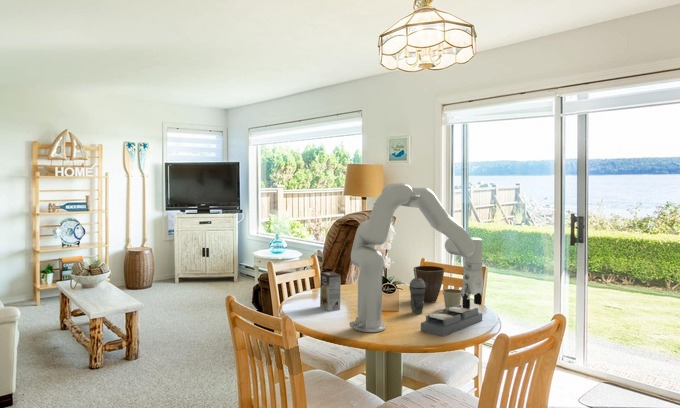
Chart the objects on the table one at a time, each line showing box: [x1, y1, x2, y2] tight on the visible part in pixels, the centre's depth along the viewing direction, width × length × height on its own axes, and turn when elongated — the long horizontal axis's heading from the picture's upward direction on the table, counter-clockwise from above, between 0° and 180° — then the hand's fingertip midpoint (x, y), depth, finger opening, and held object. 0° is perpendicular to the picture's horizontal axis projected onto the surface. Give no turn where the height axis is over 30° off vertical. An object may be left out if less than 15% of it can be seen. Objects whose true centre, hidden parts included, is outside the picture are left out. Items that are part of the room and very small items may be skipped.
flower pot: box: [441, 288, 462, 309], centre depth 208 cm, size 9×9×9 cm
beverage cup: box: [408, 267, 426, 315], centre depth 203 cm, size 7×7×20 cm
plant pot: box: [412, 265, 445, 303], centre depth 225 cm, size 15×15×16 cm
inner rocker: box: [429, 313, 453, 320], centre depth 179 cm, size 10×6×1 cm, turn 135°
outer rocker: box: [449, 306, 473, 313], centre depth 189 cm, size 10×6×1 cm, turn 135°
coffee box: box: [319, 271, 342, 312], centre depth 209 cm, size 9×6×16 cm
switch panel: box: [420, 304, 483, 337], centre depth 184 cm, size 30×10×5 cm, turn 135°
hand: (471, 306), depth 195 cm, fingers open, 9 cm apart
